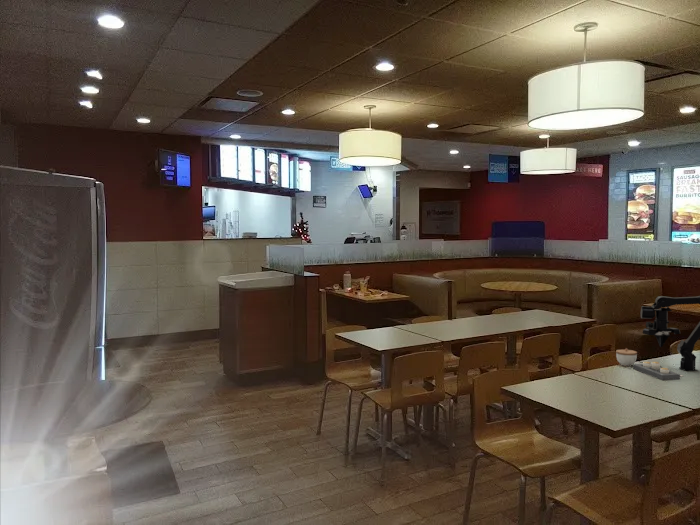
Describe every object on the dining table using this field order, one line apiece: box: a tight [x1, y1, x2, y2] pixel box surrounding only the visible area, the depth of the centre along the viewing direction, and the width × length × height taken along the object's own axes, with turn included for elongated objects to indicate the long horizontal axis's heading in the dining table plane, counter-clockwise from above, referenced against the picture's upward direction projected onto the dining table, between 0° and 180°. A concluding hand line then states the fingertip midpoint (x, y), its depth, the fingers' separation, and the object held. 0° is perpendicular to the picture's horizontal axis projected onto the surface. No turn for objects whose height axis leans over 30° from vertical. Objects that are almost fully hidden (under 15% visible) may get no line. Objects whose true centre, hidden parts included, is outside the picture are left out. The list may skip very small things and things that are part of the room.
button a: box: [642, 361, 652, 367], centre depth 305 cm, size 4×4×4 cm
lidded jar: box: [615, 347, 638, 367], centre depth 318 cm, size 11×11×9 cm
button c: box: [660, 367, 670, 374], centre depth 291 cm, size 4×4×4 cm
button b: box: [650, 361, 661, 370], centre depth 298 cm, size 4×4×4 cm
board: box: [632, 363, 681, 381], centre depth 298 cm, size 10×24×2 cm, turn 7°
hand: (660, 346), depth 310 cm, fingers closed
